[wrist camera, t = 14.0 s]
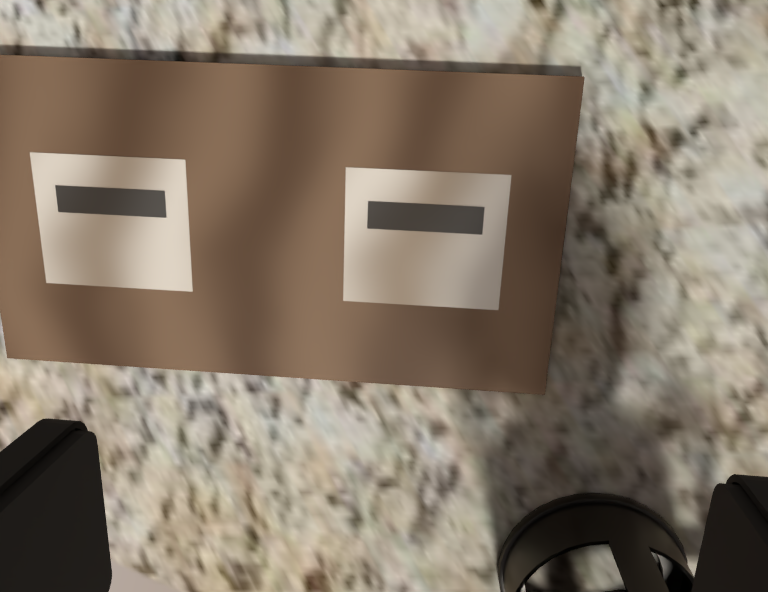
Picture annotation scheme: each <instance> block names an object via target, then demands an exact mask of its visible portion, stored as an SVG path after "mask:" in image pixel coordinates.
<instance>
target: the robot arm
mask: <svg viewBox="0 0 768 592" xmlns="http://www.w3.org/2000/svg"><path fill="white" fill-rule="evenodd" d="M111 579H112V569H111V560H110V551H109V542H108V533H107V525H106V516H105V507H104V498H103V489H102V480H101V471H100V462H99V453H98V445H97V439H96V436H95V434H94V433H93V432H90V431H88V430H87V427H86V426H85V424H84V423H82V422H81V421H71V420H58V419H42V420H40V421H38V422H37V423H36V424H35V425H33V426H32V427H31V428H30V429H28V430H27V431H26V432H25V433H23V434H22V435H21V436H20V437H18V438H17V439H16V440H15V441H13V442H12V443H11V444H10V445H8V446H7V447H6V448H5V449H3V450H2V451H1V452H0V592H108V591H109V589H110V584H111ZM691 592H768V477H761V476H748V475H736V474H734V475H732V476H730V477H729V479H728V480H727V482H726V484H722V483H719V484H717V485H716V487H715V488H714V491H713V495H712V500H711V504H710V509H709V513H708V518H707V522H706V527H705V531H704V536H703V541H702V545H701V550H700V554H699V559H698V563H697V568H696V573H695V577H694V582H693V586H692V591H691Z"/></svg>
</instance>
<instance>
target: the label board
mask: <svg viewBox="0 0 768 592" xmlns="http://www.w3.org/2000/svg"><path fill="white" fill-rule="evenodd" d="M583 85H584V77H579V76H552V75H525V74H499V73H472V72H446V71H419V70H392V69H366V68H339V67H313V66H286V65H259V64H233V63H206V62H180V61H153V60H126V59H100V58H73V57H47V56H20V55H0V313H1V319H2V326H3V332H4V339H5V346H6V352H7V358H14V359H29V360H43V361H58V362H73V363H87V364H102V365H117V366H131V367H146V368H161V369H175V370H190V371H205V372H219V373H234V374H249V375H263V376H278V377H293V378H307V379H322V380H337V381H351V382H366V383H381V384H395V385H410V386H425V387H439V388H454V389H469V390H483V391H498V392H513V393H527V394H542V395H545V388H546V380H547V372H548V364H549V356H550V348H551V340H552V332H553V324H554V316H555V308H556V300H557V292H558V284H559V276H560V268H561V260H562V252H563V244H564V237H565V229H566V221H567V213H568V205H569V197H570V189H571V181H572V173H573V165H574V157H575V149H576V141H577V133H578V125H579V117H580V109H581V101H582V93H583Z"/></svg>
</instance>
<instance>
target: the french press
mask: <svg viewBox="0 0 768 592" xmlns="http://www.w3.org/2000/svg"><path fill="white" fill-rule="evenodd" d="M601 544H609V545H610V548H611V551H612V553H613V556H614V559H615V561H616V564H617V567H618V569H619V572H620V575H621V577H622V580H623V582H624V585H625V588H626V590H612V591H605V592H691V591H692V586H693V582H694V576H693V574H692V572H691V570H690V569H689V567H688V565H687V558H686V555H685V551H684V548H683V545H682V544H681V542H680V540H679V538H678V537H677V535H676V533H675V532H674V530H673V528H672V527H671V526H670V525H669V524H668V523H667V522H666V521H665V520H664V519H663V518H662V517H661V516H660V515H658V514H657V513H656V512H654V511H653V510H651V509H650V508H648V507H647V506H645V505H643V504H641V503H638V502H636V501H634V500H631V499H629V498H625V497H621V496H616V495H612V494H600V493H587V494H577V495H571V496H567V497H564V498H560V499H556V500H554V501H552V502H549V503H547V504H545V505H543V506H541V507H539V508H537V509H536V510H534V511H533V512H532V513H530V514H529V515H527V516H526V517H525V518H524V519H523V520H522V521H521V522H520V523H519V524H518V525H517V526H516V527H515V528H514V529H513V530H512V532H511V534H510V535H509V537H508V538H507V540H506V542H505V544H504V546H503V549H502V552H501V555H500V558H499V567H498V577H499V584H500V591H501V592H527V591H526V589H525V583H526V581H527V580H528V579H529V578H530V577H531V576H532V575H533V574H534V573H535V572H536V571H537V570H538V569H539V568H540V567H541V566H543V565H544V564H546V563H547V562H549V561H550V560H552V559H553V558H555V557H557V556H559V555H562V554H564V553H566V552H568V551H571V550H574V549H578V548H582V547H586V546H590V545H601ZM651 552H653V553H656V554H657V555H658V557H659V560H660V564H661V573H660V570H659V568H658V566H657V564H656V562H655V560H654V557H653V555H652V553H651Z"/></svg>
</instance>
